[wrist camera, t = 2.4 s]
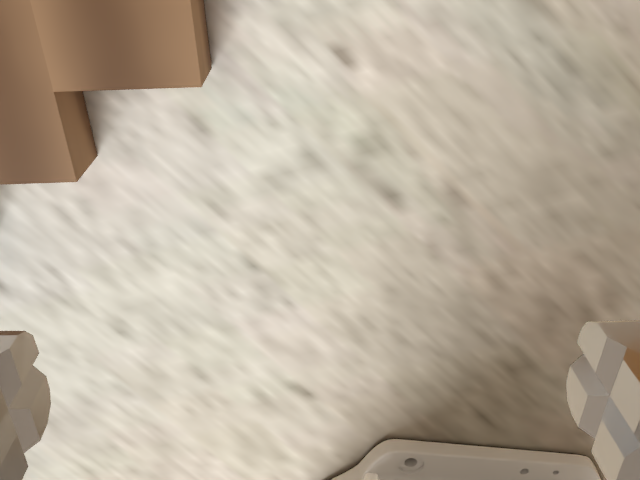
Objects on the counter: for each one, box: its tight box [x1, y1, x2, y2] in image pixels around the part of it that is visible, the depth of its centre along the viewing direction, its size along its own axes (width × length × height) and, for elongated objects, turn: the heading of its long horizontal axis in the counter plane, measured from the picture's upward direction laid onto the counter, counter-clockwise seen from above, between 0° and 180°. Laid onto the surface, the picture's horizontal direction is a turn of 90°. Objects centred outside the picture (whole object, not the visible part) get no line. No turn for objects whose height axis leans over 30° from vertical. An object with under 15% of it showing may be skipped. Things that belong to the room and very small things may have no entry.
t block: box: [0, 0, 212, 184], centre depth 24 cm, size 10×12×3 cm
